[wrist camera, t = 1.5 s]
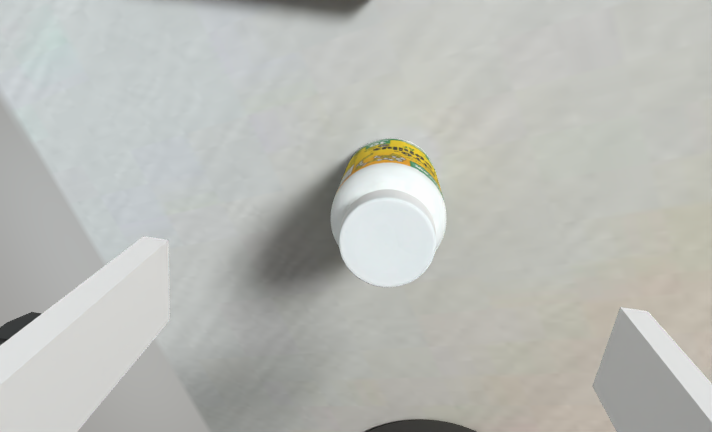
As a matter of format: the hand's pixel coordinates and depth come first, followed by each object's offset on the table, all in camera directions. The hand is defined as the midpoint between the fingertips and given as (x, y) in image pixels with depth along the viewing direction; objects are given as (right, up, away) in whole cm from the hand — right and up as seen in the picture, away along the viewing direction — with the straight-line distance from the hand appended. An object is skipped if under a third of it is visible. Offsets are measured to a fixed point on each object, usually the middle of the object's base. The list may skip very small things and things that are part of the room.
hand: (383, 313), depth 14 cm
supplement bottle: (+1, +5, +15) cm, 16 cm away
